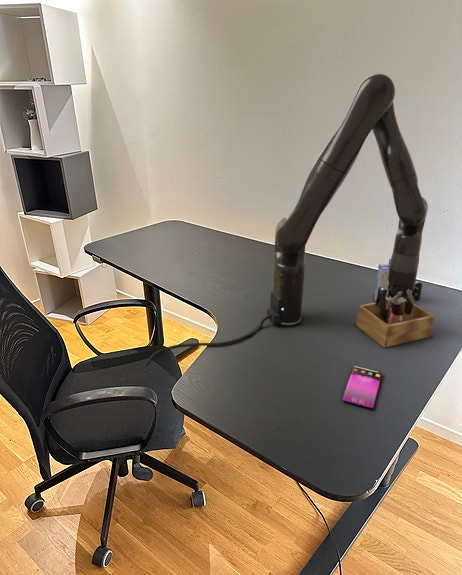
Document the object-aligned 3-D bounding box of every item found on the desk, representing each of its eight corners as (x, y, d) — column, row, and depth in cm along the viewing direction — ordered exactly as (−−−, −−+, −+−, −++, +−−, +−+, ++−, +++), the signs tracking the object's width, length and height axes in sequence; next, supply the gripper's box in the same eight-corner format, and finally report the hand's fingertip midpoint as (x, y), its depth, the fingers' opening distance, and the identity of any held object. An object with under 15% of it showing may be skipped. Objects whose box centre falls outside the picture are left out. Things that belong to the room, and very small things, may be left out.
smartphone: (381, 374, 114) (382, 371, 114) (372, 410, 102) (373, 407, 102) (353, 367, 117) (353, 365, 117) (341, 401, 105) (341, 398, 104)
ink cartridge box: (402, 297, 155) (409, 258, 149) (405, 304, 150) (412, 264, 144) (373, 294, 157) (379, 257, 151) (375, 301, 152) (381, 262, 146)
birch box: (384, 347, 126) (387, 326, 123) (356, 325, 138) (358, 305, 135) (430, 336, 131) (434, 316, 128) (399, 316, 143) (403, 297, 140)
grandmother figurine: (379, 325, 137) (385, 289, 132) (390, 324, 138) (396, 287, 133) (394, 338, 131) (400, 300, 125) (405, 336, 131) (412, 298, 126)
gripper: (414, 258, 131) (406, 306, 138) (374, 265, 126) (368, 315, 133) (433, 267, 124) (423, 317, 131) (391, 275, 120) (383, 326, 127)
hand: (395, 316), depth 132 cm, fingers open, 8 cm apart
